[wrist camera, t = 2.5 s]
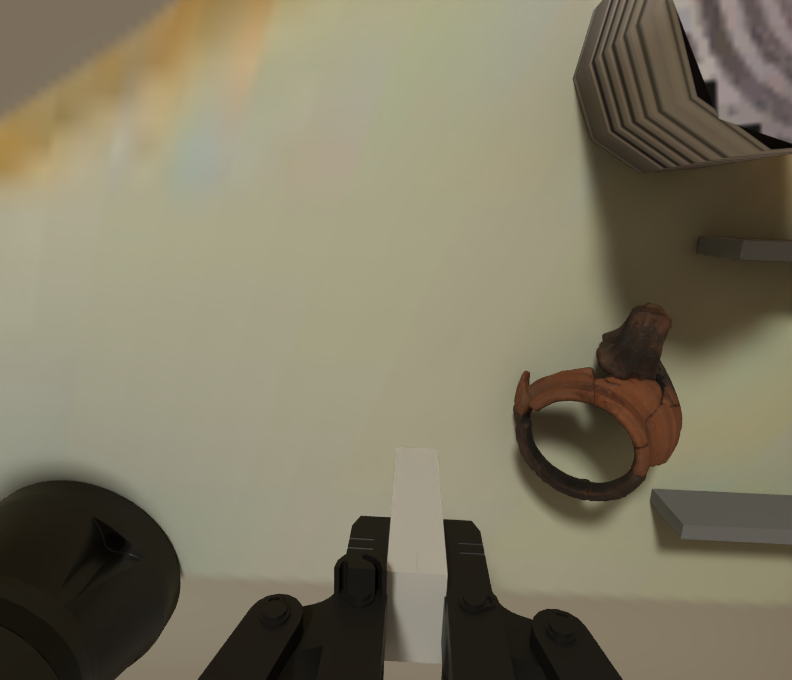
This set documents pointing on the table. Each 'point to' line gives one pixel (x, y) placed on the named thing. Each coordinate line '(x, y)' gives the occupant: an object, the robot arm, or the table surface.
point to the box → (721, 510)
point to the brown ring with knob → (612, 403)
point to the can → (688, 81)
